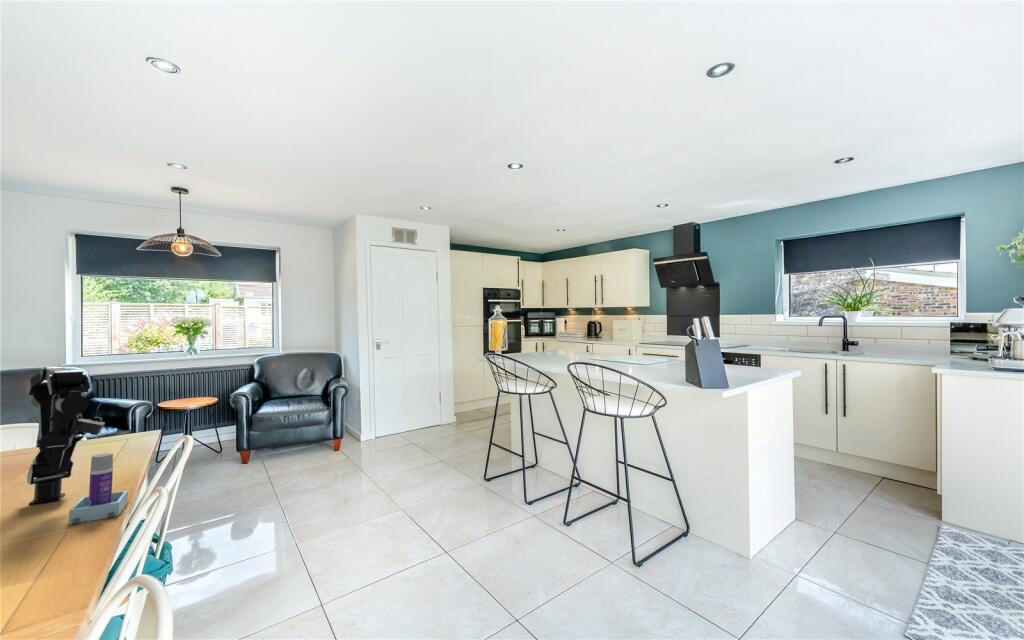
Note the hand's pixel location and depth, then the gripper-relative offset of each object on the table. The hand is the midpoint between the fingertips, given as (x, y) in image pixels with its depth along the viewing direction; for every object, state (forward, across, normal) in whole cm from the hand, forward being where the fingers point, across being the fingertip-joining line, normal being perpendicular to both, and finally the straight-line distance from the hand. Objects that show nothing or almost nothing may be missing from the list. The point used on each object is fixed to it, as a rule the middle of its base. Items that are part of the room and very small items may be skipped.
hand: (62, 465), depth 123 cm
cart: (+13, -10, -10) cm, 19 cm away
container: (+12, -10, -10) cm, 18 cm away
